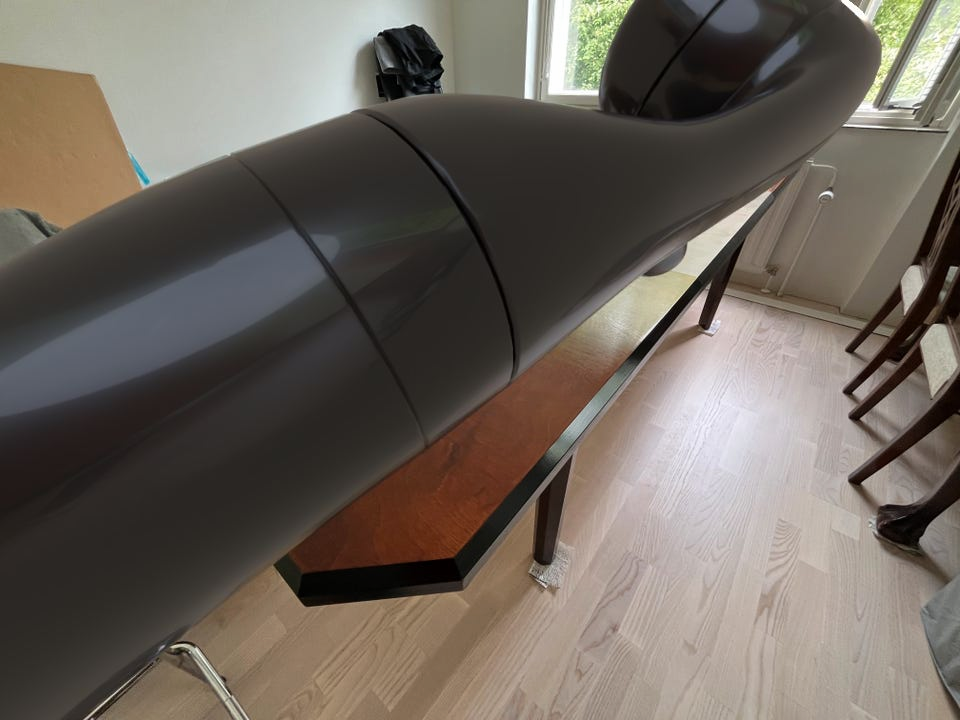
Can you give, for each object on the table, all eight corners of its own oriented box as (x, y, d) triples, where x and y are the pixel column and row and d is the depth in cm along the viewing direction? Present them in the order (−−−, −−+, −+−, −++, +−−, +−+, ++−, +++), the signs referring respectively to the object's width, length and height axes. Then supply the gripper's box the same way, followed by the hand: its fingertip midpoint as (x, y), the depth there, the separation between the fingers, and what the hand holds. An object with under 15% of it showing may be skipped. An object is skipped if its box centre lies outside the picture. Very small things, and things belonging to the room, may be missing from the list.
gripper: (513, 202, 50) (384, 216, 48) (551, 240, 39) (385, 260, 37) (512, 256, 55) (395, 271, 52) (546, 304, 44) (398, 325, 41)
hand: (391, 267), depth 45 cm, fingers closed on ink box, 5 cm apart
